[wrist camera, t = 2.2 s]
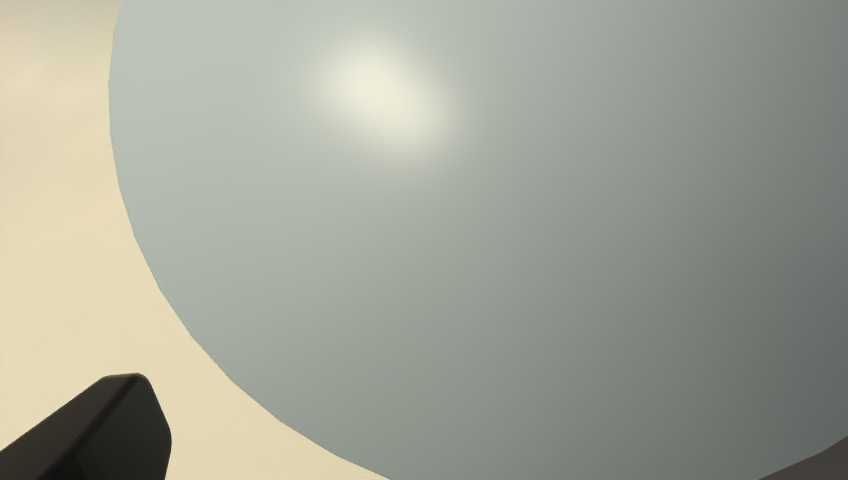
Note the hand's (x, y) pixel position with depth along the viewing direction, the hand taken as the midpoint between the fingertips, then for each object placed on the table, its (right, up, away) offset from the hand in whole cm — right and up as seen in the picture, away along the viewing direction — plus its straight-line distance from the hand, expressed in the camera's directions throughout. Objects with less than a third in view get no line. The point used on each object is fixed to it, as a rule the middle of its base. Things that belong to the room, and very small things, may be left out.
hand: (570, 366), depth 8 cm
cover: (+1, 0, +10) cm, 10 cm away
